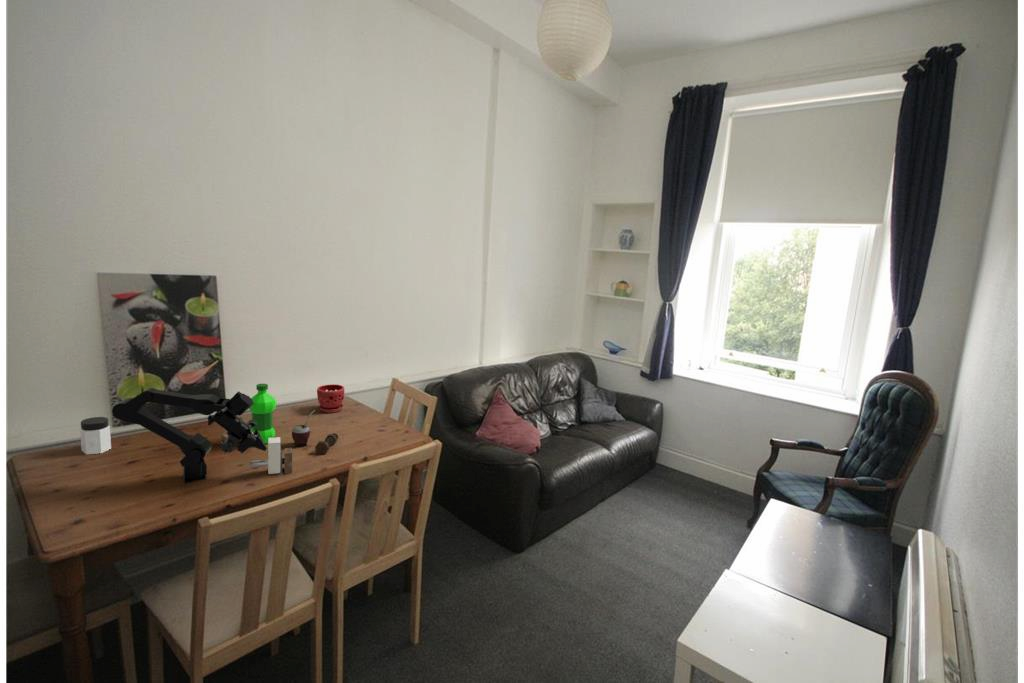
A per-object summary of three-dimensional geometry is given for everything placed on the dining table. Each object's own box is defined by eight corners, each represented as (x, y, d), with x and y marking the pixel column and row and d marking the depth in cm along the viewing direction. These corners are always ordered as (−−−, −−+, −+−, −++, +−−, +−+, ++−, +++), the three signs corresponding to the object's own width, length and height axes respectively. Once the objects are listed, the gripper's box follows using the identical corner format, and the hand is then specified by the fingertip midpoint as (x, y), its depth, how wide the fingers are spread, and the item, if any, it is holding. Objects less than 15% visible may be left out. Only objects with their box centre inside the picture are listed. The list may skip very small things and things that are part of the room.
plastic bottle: (244, 445, 210) (243, 387, 206) (256, 436, 221) (255, 380, 216) (269, 447, 211) (268, 389, 206) (279, 438, 221) (279, 382, 216)
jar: (78, 455, 190) (76, 425, 188) (84, 447, 197) (82, 417, 195) (108, 453, 194) (106, 423, 192) (113, 445, 201) (111, 416, 199)
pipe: (250, 469, 186) (250, 462, 185) (250, 465, 188) (250, 459, 188) (286, 465, 191) (286, 459, 190) (285, 462, 193) (285, 456, 193)
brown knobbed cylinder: (336, 444, 225) (323, 457, 210) (326, 438, 224) (312, 450, 209) (343, 434, 224) (330, 446, 209) (333, 427, 223) (320, 439, 209)
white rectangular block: (268, 474, 188) (268, 443, 185) (268, 468, 192) (268, 437, 190) (282, 472, 189) (282, 442, 187) (281, 466, 194) (281, 436, 192)
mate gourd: (288, 446, 214) (288, 412, 211) (300, 439, 221) (301, 406, 219) (302, 449, 212) (303, 415, 209) (315, 443, 219) (316, 409, 217)
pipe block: (276, 474, 189) (276, 454, 187) (276, 468, 193) (276, 449, 192) (292, 473, 191) (292, 453, 190) (291, 467, 196) (291, 447, 194)
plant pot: (338, 404, 270) (338, 382, 268) (348, 411, 260) (348, 389, 258) (312, 407, 262) (313, 385, 259) (322, 415, 252) (322, 392, 250)
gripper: (215, 430, 188) (249, 455, 195) (210, 450, 171) (247, 477, 178) (239, 408, 190) (272, 434, 197) (236, 426, 173) (272, 453, 180)
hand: (265, 449), depth 188 cm, fingers closed
